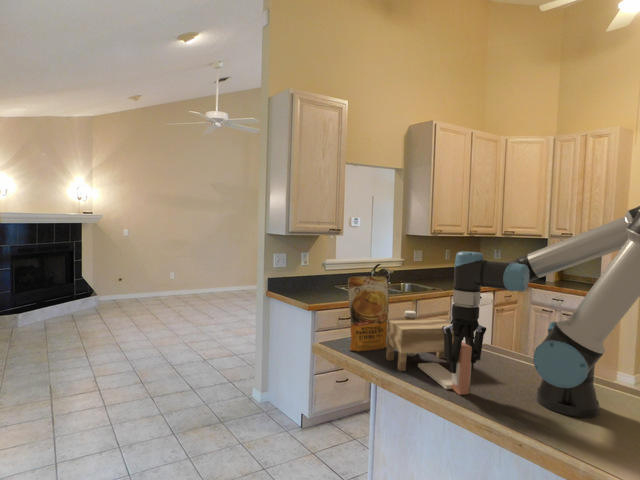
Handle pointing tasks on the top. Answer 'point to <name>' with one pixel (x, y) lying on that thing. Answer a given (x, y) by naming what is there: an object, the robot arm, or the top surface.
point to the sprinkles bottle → (410, 315)
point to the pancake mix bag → (368, 312)
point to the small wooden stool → (415, 338)
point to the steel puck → (411, 354)
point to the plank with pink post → (446, 377)
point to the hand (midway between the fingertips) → (460, 383)
